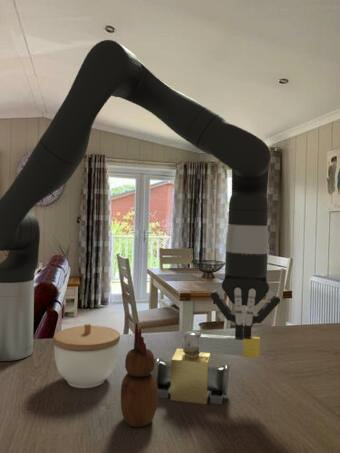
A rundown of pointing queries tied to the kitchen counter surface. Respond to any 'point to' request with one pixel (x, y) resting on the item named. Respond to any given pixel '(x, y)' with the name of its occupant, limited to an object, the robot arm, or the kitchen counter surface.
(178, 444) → the kitchen counter surface
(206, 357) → the ball valve
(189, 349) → the lever
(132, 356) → the wooden figurine
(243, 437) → the kitchen counter surface
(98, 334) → the lidded bowl
